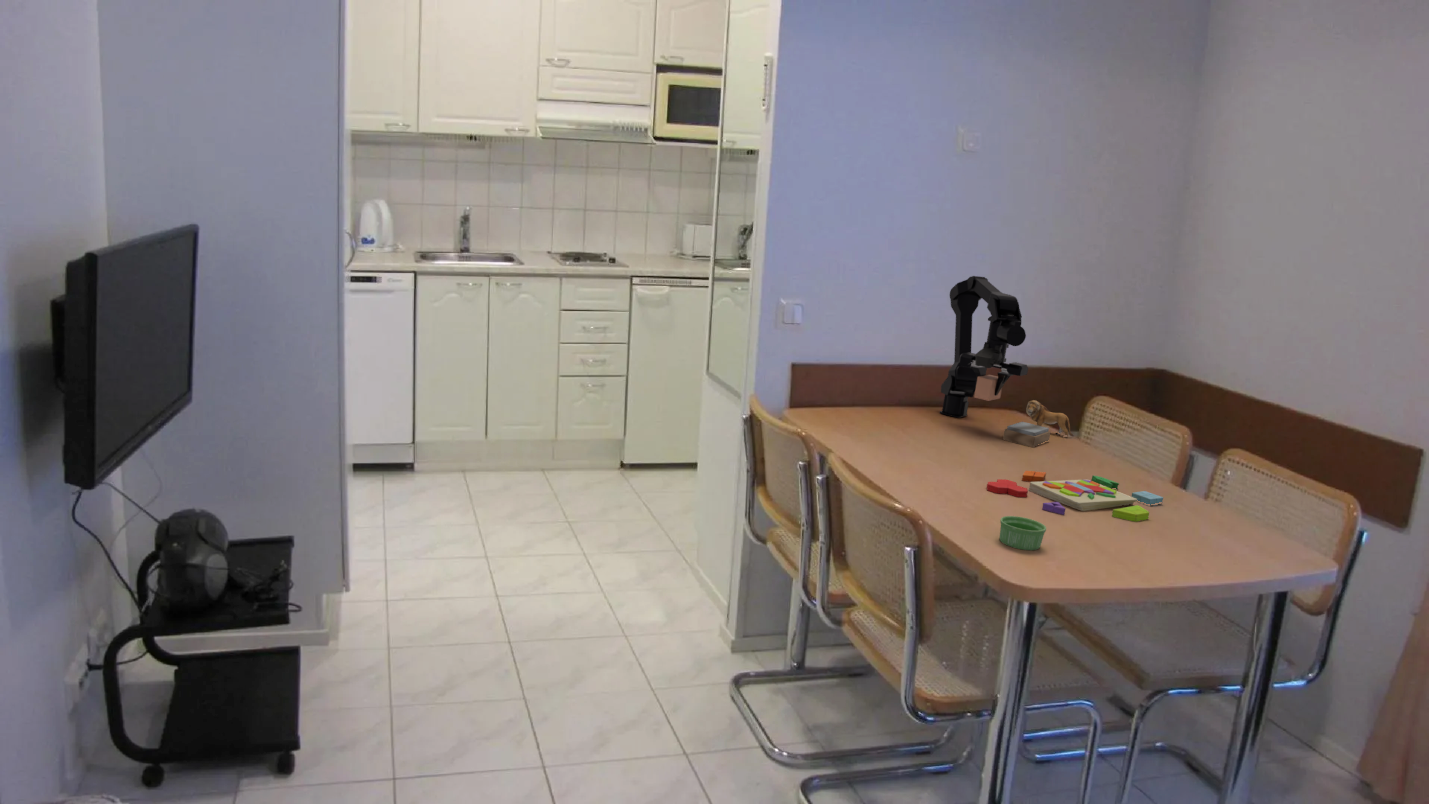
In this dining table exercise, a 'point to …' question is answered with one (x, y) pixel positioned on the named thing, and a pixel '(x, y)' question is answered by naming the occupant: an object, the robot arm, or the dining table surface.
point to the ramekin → (1021, 532)
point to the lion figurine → (1047, 416)
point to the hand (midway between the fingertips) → (988, 393)
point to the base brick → (1026, 434)
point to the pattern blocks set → (1079, 495)
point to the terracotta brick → (986, 388)
